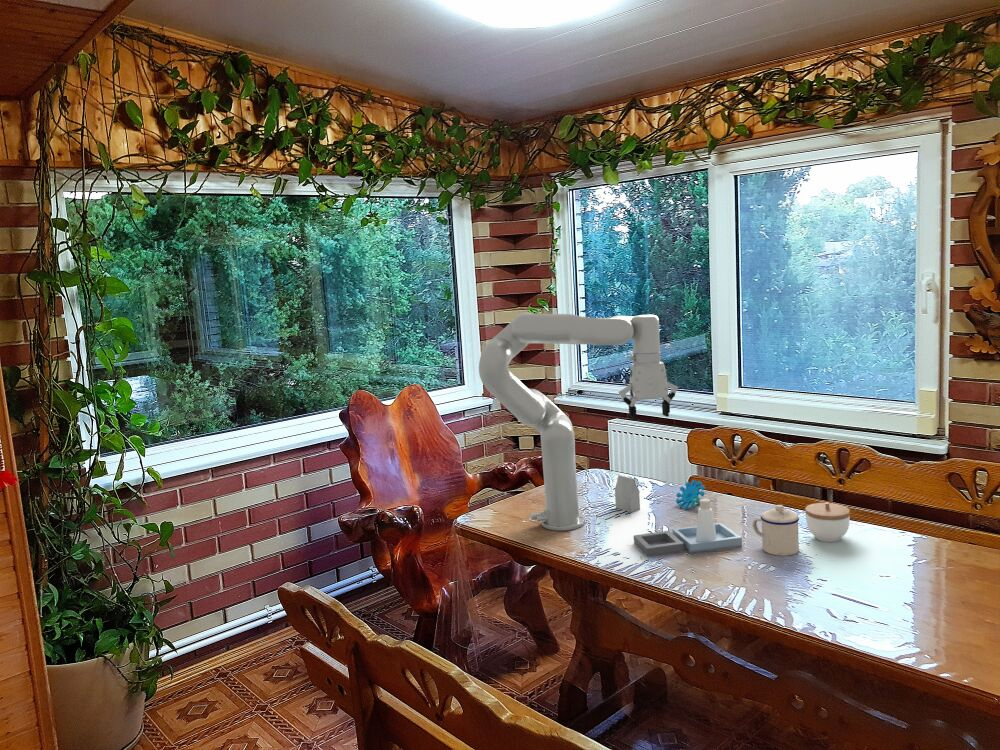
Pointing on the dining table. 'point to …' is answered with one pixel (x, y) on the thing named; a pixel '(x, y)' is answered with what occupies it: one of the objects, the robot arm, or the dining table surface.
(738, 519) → the dining table surface
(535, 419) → the robot arm
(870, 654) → the dining table surface
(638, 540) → the socket block
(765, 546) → the teacup with lid
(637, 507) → the grey upright wedge block
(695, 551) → the parts tray
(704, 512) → the pepper shaker
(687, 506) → the blue spiky cluster
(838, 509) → the lidded jar
